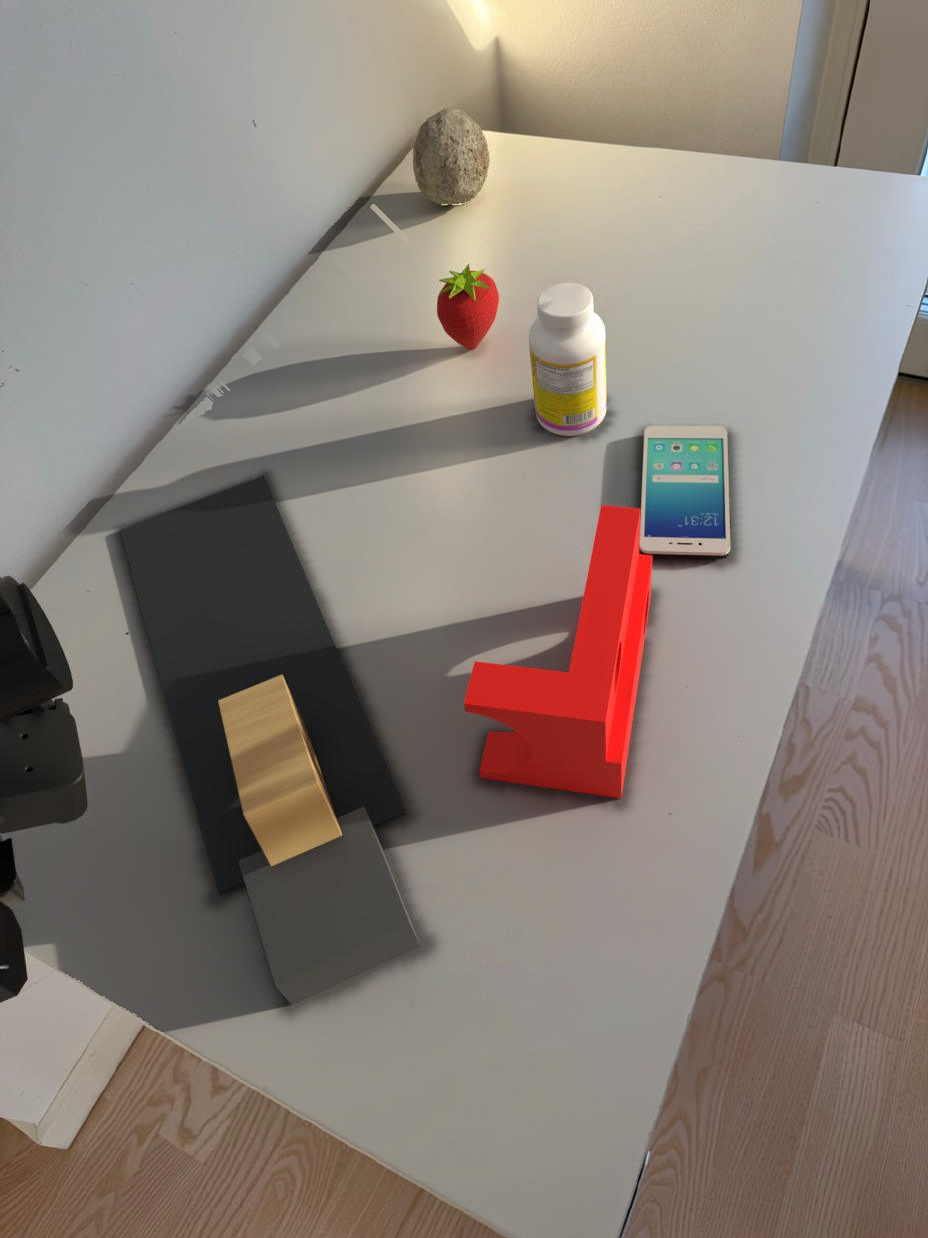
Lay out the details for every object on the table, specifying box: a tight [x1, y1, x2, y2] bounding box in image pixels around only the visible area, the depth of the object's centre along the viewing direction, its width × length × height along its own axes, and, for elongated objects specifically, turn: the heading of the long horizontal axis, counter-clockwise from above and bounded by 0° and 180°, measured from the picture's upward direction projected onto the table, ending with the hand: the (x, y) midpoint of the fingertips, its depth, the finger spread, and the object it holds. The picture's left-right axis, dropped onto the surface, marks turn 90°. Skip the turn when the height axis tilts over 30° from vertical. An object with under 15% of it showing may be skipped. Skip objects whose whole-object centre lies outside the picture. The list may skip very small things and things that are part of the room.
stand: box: [239, 807, 421, 1005], centre depth 66 cm, size 9×9×4 cm
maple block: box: [218, 675, 342, 866], centre depth 69 cm, size 5×5×13 cm
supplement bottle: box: [528, 282, 608, 437], centre depth 88 cm, size 7×7×13 cm
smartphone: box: [639, 425, 732, 560], centre depth 85 cm, size 8×1×15 cm
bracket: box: [463, 504, 654, 799], centre depth 72 cm, size 18×10×10 cm
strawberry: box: [436, 263, 500, 351], centre depth 97 cm, size 6×8×10 cm
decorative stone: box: [412, 107, 491, 207], centre depth 114 cm, size 10×8×10 cm
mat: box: [119, 475, 407, 895], centre depth 81 cm, size 38×14×1 cm, turn 23°
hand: (16, 898), depth 57 cm, fingers closed
